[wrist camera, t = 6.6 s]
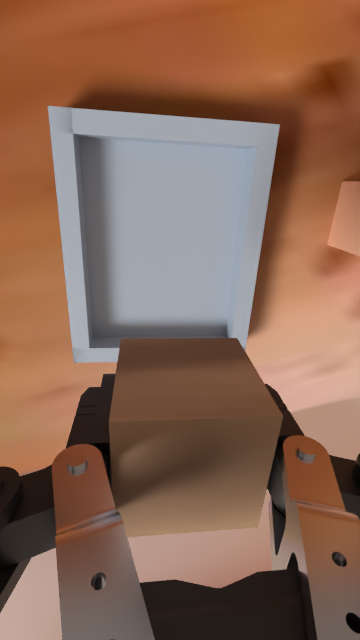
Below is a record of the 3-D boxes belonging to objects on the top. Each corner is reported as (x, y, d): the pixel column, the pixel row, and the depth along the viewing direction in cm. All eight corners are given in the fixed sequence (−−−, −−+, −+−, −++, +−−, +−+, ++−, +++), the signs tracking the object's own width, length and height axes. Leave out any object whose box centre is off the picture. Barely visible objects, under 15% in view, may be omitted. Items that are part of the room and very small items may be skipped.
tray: (59, 114, 19) (47, 105, 17) (264, 130, 21) (279, 124, 18) (79, 346, 26) (73, 362, 23) (235, 345, 27) (243, 360, 25)
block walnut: (120, 338, 12) (108, 421, 8) (236, 338, 12) (283, 416, 8) (123, 430, 14) (115, 537, 10) (224, 426, 14) (257, 527, 10)
